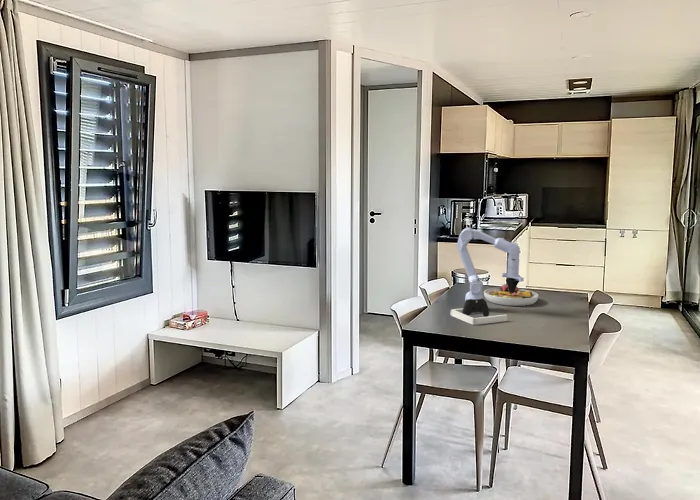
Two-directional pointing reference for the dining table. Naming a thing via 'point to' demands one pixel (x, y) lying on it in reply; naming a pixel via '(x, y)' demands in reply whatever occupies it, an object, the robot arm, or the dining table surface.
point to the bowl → (510, 296)
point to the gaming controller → (475, 307)
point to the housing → (476, 321)
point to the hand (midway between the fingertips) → (512, 292)
